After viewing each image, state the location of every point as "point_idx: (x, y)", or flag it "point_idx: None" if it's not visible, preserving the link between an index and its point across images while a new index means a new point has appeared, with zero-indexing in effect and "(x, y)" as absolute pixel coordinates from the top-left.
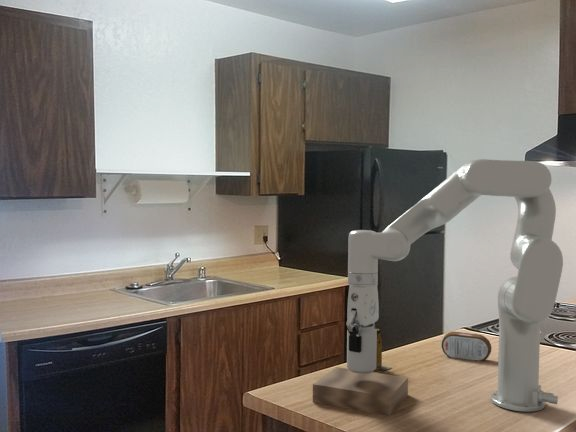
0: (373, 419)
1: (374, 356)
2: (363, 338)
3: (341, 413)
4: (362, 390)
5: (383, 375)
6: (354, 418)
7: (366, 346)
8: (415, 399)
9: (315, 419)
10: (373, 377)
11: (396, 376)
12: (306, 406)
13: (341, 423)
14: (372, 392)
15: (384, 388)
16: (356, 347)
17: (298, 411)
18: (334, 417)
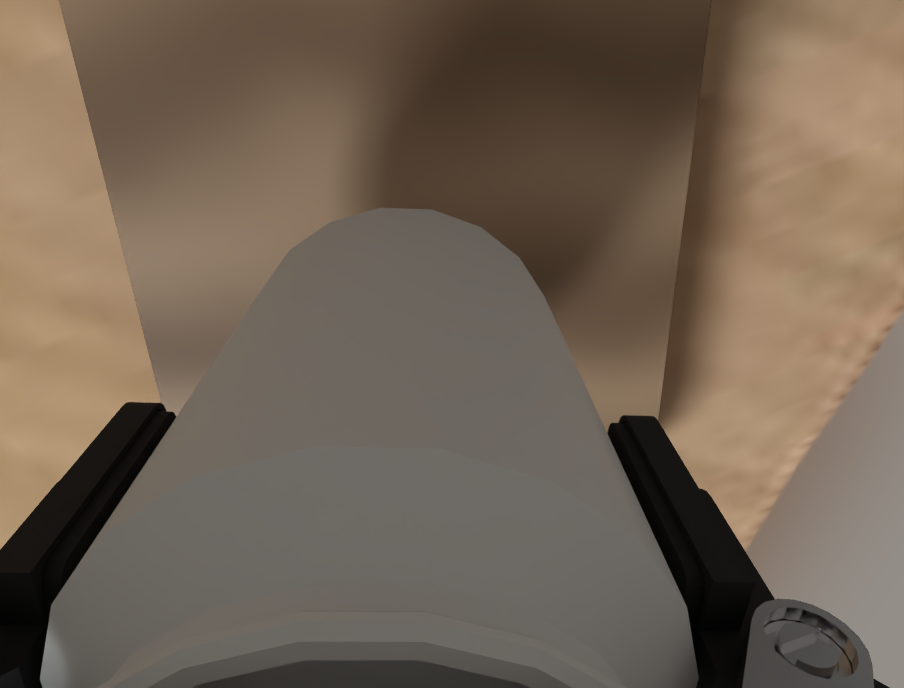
0: (773, 25)
1: (433, 253)
2: (650, 528)
3: (733, 265)
4: (645, 205)
5: (152, 184)
6: (793, 157)
7: (582, 400)
8: None
9: (871, 355)
10: (266, 245)
11: (90, 54)
12: (692, 471)
13: (899, 200)
14: (665, 107)
15: (512, 40)
16: (710, 496)
17: (779, 474)
18: (811, 276)
